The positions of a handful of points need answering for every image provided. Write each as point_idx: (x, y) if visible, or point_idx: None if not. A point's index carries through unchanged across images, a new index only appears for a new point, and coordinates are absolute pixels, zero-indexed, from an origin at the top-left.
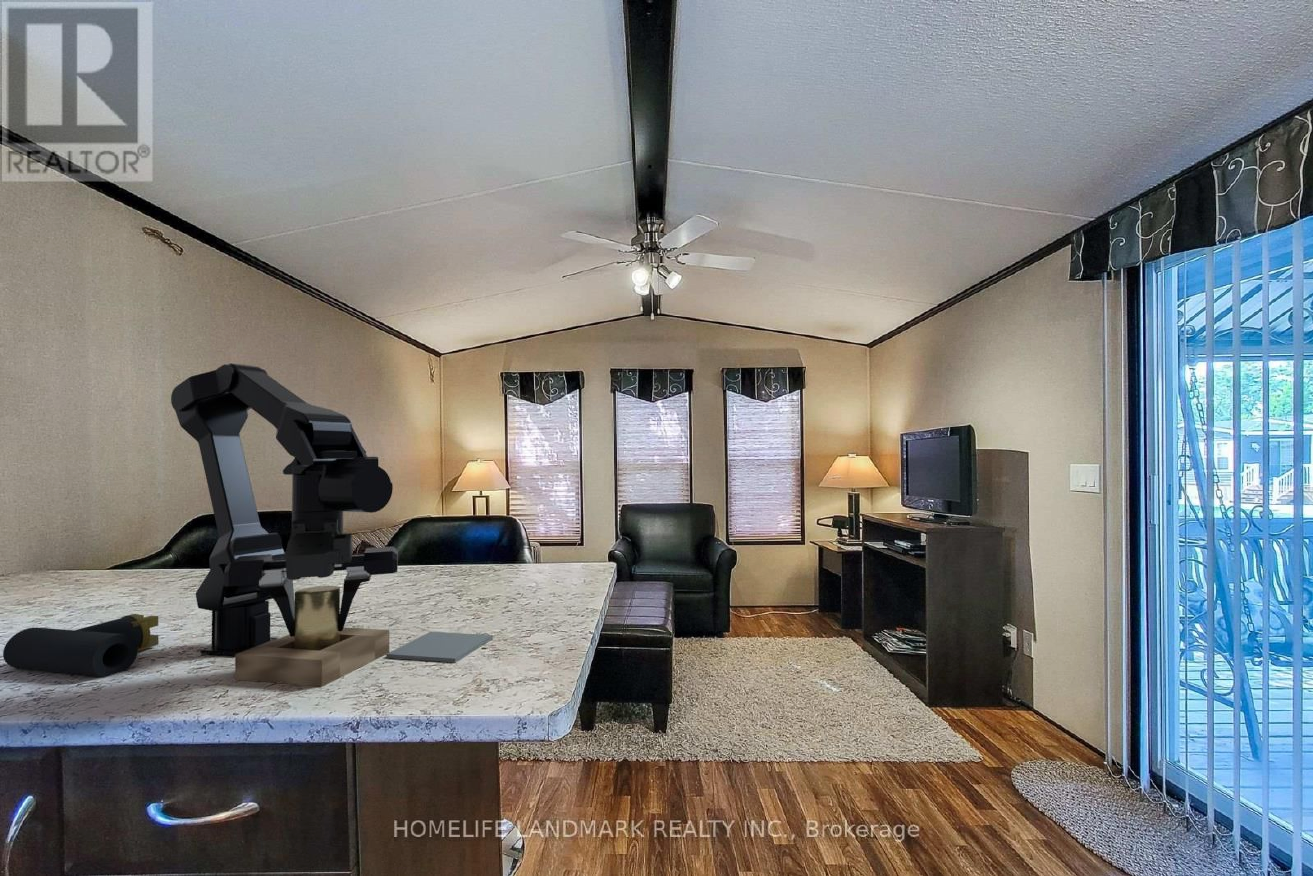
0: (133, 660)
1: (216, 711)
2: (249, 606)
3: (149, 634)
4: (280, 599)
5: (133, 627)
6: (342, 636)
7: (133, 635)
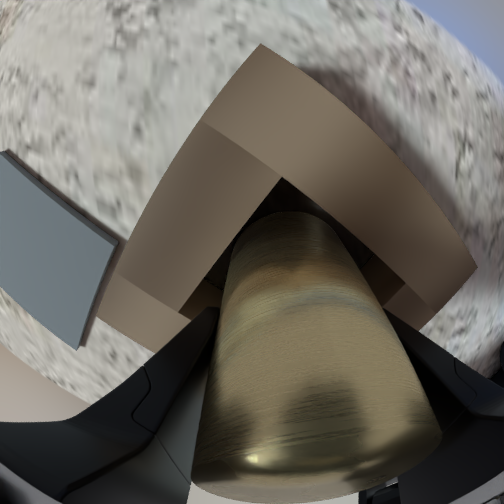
0: (501, 355)
1: (453, 55)
2: None
3: None
4: (489, 395)
5: None
6: None
7: None
